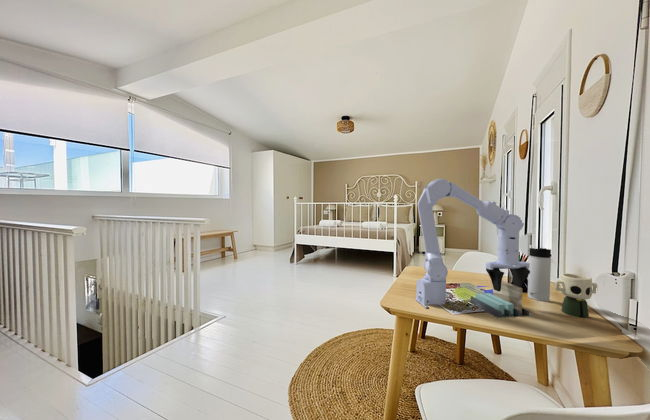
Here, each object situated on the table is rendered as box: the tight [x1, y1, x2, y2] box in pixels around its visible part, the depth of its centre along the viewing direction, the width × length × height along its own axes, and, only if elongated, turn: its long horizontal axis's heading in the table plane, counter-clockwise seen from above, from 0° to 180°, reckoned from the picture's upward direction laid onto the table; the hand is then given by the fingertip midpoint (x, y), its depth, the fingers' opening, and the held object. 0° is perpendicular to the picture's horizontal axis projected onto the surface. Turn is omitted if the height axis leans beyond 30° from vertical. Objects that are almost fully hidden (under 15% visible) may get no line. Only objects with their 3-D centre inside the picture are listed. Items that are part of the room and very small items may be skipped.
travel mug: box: [527, 247, 552, 303], centre depth 94 cm, size 6×7×20 cm
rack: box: [465, 296, 535, 319], centre depth 86 cm, size 13×14×2 cm
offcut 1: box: [475, 293, 505, 314], centre depth 85 cm, size 2×10×3 cm, turn 8°
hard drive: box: [476, 285, 493, 295], centre depth 102 cm, size 2×8×12 cm
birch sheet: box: [492, 280, 524, 313], centre depth 86 cm, size 2×10×8 cm, turn 8°
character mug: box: [554, 272, 598, 319], centre depth 81 cm, size 11×7×13 cm, turn 75°
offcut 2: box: [483, 292, 514, 314], centre depth 86 cm, size 2×10×3 cm, turn 7°
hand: (507, 290), depth 86 cm, fingers open, 7 cm apart
